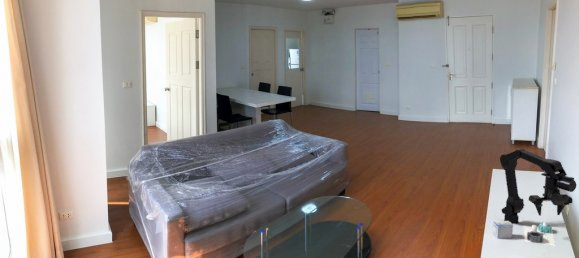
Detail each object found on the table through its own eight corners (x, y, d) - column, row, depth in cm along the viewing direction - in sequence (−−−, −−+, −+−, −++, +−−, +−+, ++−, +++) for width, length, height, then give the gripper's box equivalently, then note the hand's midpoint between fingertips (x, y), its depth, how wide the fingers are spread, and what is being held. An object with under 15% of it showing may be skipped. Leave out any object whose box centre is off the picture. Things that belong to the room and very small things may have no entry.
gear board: (524, 243, 215) (525, 233, 214) (523, 227, 232) (524, 217, 231) (554, 248, 209) (555, 237, 208) (551, 231, 226) (552, 221, 225)
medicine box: (507, 236, 224) (508, 220, 222) (512, 239, 220) (513, 224, 218) (492, 237, 224) (493, 221, 222) (497, 240, 219) (497, 225, 218)
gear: (527, 241, 214) (527, 236, 214) (526, 235, 220) (527, 230, 220) (543, 244, 211) (543, 238, 211) (542, 238, 217) (542, 232, 217)
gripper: (541, 192, 206) (538, 222, 209) (581, 190, 205) (578, 221, 208) (529, 184, 217) (527, 213, 220) (566, 183, 216) (564, 212, 219)
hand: (549, 215), depth 217 cm, fingers open, 9 cm apart
